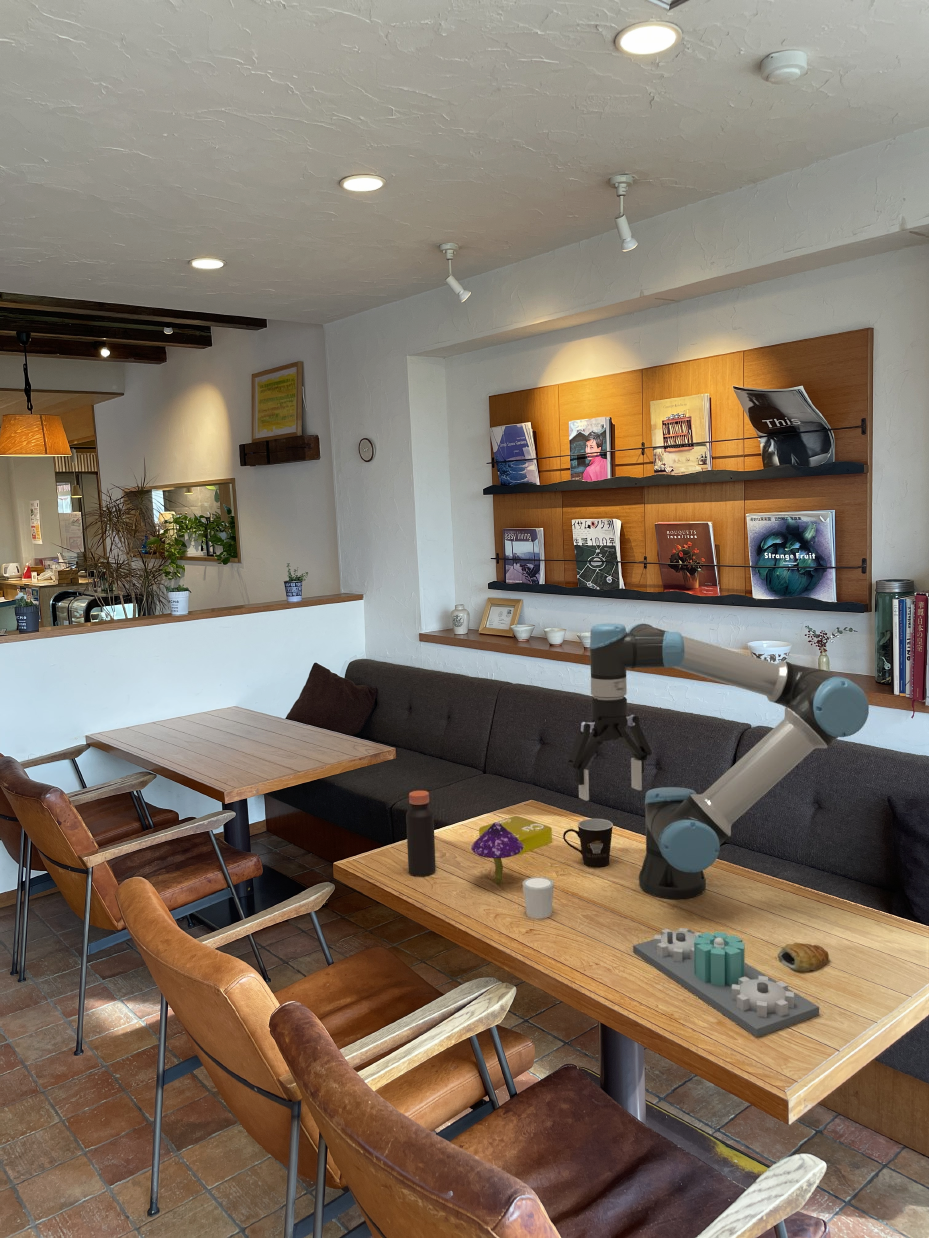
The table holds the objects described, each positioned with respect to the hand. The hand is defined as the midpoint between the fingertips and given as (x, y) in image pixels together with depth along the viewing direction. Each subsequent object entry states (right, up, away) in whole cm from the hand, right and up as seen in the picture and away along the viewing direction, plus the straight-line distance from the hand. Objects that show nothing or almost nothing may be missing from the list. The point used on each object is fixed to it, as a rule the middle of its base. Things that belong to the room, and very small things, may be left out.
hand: (610, 793), depth 196 cm
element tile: (-18, -23, +49) cm, 57 cm away
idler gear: (+16, -28, -28) cm, 42 cm away
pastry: (+33, -29, -22) cm, 49 cm away
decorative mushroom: (-23, -26, +21) cm, 41 cm away
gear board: (+16, -29, -28) cm, 43 cm away
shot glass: (-15, -27, +4) cm, 31 cm away
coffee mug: (0, -24, +32) cm, 40 cm away
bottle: (-42, -25, +30) cm, 57 cm away
